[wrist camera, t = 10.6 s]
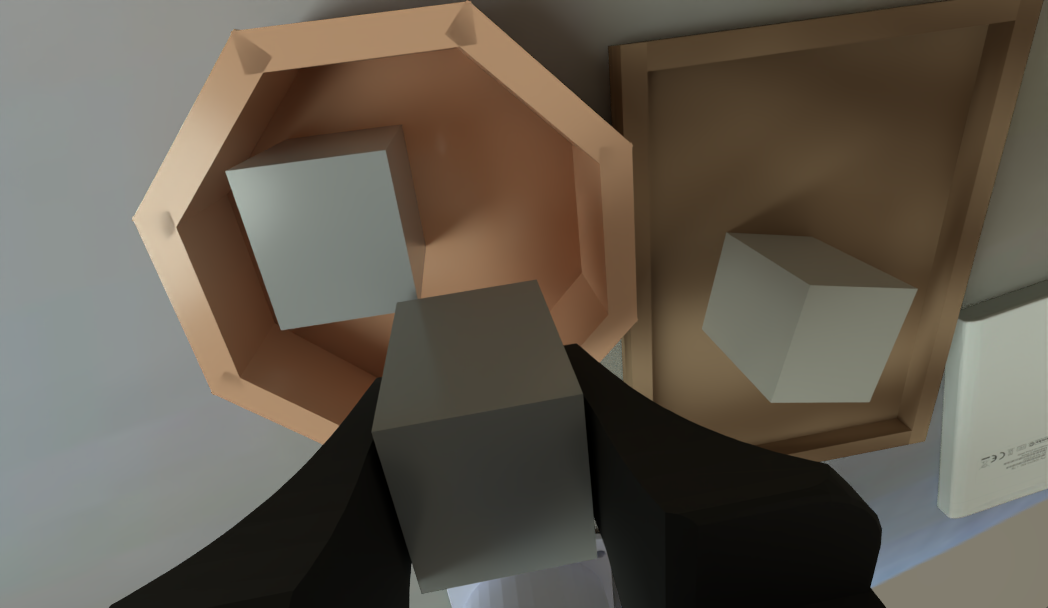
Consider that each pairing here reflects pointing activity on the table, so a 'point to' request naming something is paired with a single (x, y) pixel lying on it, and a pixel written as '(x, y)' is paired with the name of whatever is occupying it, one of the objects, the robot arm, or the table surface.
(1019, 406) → the external hard drive
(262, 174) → the stone
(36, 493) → the table surface
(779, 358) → the stone
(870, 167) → the tray
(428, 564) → the stone
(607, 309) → the bowl
